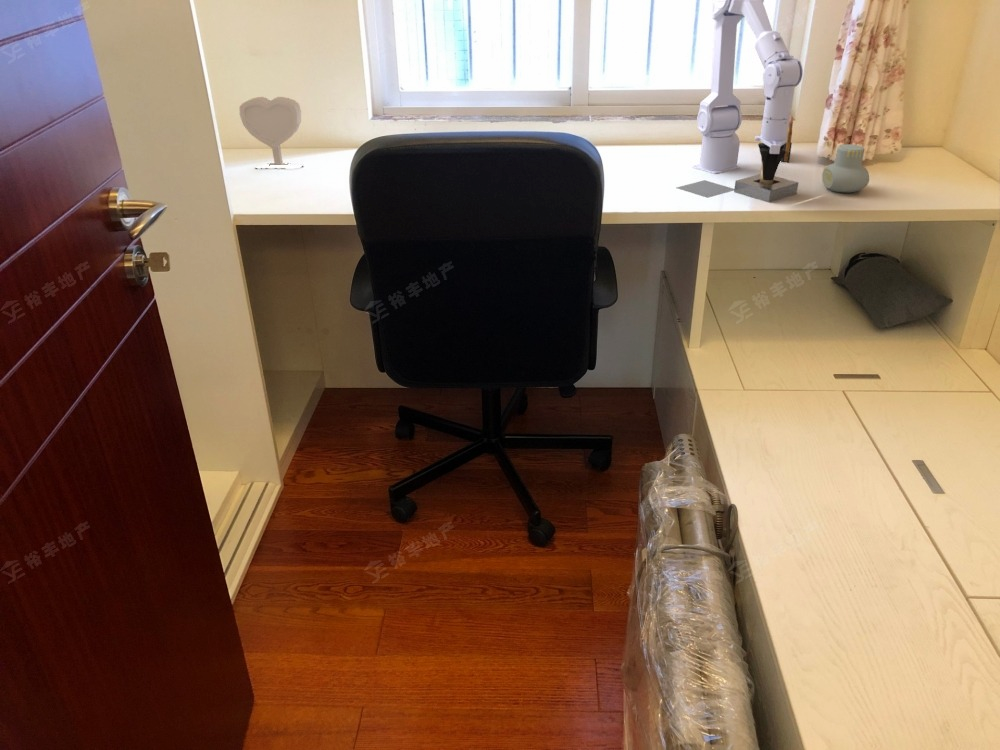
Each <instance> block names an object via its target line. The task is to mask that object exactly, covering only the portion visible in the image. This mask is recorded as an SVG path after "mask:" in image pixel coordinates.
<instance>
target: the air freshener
mask: <svg viewBox="0 0 1000 750" xmlns="http://www.w3.org/2000/svg"><path fill="white" fill-rule="evenodd" d="M836 148H837V149H836V153H835V158H834V162H833V163H831V164H829V165H827V166H825V167H824V168H823V170H822V173H821V178H822V179H821V180H822V183H823V185H824V187H826V188H827V189H829V191H831V192H836V193H844V194H847V193H848V194H849V193H856V192H859V191H861V190H862V189H865V188H866V187H867V186H868V184H869V183H870V172H869V171H868V169H867V168H866V167H865V166H864V165H863V160H864V159H863V158H864V153H865V148H864V147H863V146H862V145H858V144H851V143H850V144H840V145H838V146H837V147H836Z"/></svg>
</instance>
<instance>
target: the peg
mask: <svg viewBox="0 0 1000 750" xmlns="http://www.w3.org/2000/svg"><path fill="white" fill-rule="evenodd" d="M768 149H769V148H768ZM760 168H761V169H760V174H761V175H760V183H761V184H765V185H768V186H769V185H772V184H773V180H774V178H773V180H763V163H762V162H761V167H760Z"/></svg>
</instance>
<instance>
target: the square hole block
mask: <svg viewBox="0 0 1000 750" xmlns="http://www.w3.org/2000/svg"><path fill="white" fill-rule="evenodd" d="M760 175H761V173H759V174H756V175H752V176H749V177H748V176H747V177H743V178H739V179H737V180H735V181H734V188H733V189H734V190H733V192H734V194H738V195H743V196H745V197H748V198H749V197H750V198H753V199H756V200H760V201H762V202H766V203H772V202H775V201H779V200H781V199H785V198H788V197H791V196H794V195H798V194H797V193H798V189H799V188H798V187H799V182H798V181H794V180H791V179H787V178H783V177H779V176H777V175H775V176H774V180H773V184H772V185H769V186H768V185H765V184H761V183H760Z"/></svg>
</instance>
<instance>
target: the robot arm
mask: <svg viewBox="0 0 1000 750" xmlns="http://www.w3.org/2000/svg"><path fill="white" fill-rule="evenodd" d="M764 2H765V0H712V12H711V13H712V14H711V15H712V16H711V18H712V19H713V20H714V27H713V28H714V29H713V48H712V65H711V66H712V67H711V81H710V82H711V84H710V85H711V86H710V93H709V94H708V95H707V97H705V98H704V99H702V100H701V101H700V102H699V110H698V114H697V117H696V127H697V129H698V131H699V133H700V134H701V135H702V139H701V150H700V158H699V159H700V160H699V164H696V165H692V169H695V170H699V171H702V172H705V173H710V174H713V175H718V174H721V173H725V172H729V171H733V170H737V169H740V166H739V165H738V159H739V153H740V138H739V135H738V134H737V133H736V131H738V130H739V129H740V126H741V124H742V120H743V115H742V114H743V113H742V108H741V99H739V98H738V97H737V96H736V95H734V91H733V90H734V76H735V59H736V48H737V47H736V44H737V43H736V42H737V31H738V24H739V23H740V22H741V21H742V20H743V18H744V19H745V21H747V24H748V26H749V27H750V29H751V31H752V32H753V34H754V36H755V37H756V39H757V40H756V42H755V46H754V48H755V50H756V54H757V56H758V58H759V60H760V62H761V64H762V66H763V69H764V72H763V73H762V80H763V82H762V83H763V85H764V86H763V87H764V90H763V94H764V96H765V102H764V107H763V108H764V109H763V115H762V122H761V128H760V129H761V130H760V135H755V136H754V140H755V141H756V142H761V143H758V145H757V146H758V148H759V153H760V158H761V159H760V160H761V164H762V163H763V180H773V178H774V176H776V174H777V170H778V168H779V165H780V163H781V162H780V161H781V159H782V158H783V157H784V155H785V153H786V151H785V150H782V149H783V148H784V144H785V143H786V142H787V132H788V126H789V119H790V116H791V113H792V106H793V100H794V93H795V87H798V86H799V84H800V83H801V81H802V79H803V73H804V70H803V69H804V68H803V65H802V62H801V60H800V59H798V58H795V57H794V55H791V54H790V52H789V50H788V47H787V46H786V43H785V42H784V40H783V37H782V35H781V33H780V32H778V31H776V30H773V28H772V26H771V22H770V19H769V17H768V14H767V11H766V8H765V5H764ZM768 148H769V149H768Z"/></svg>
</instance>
